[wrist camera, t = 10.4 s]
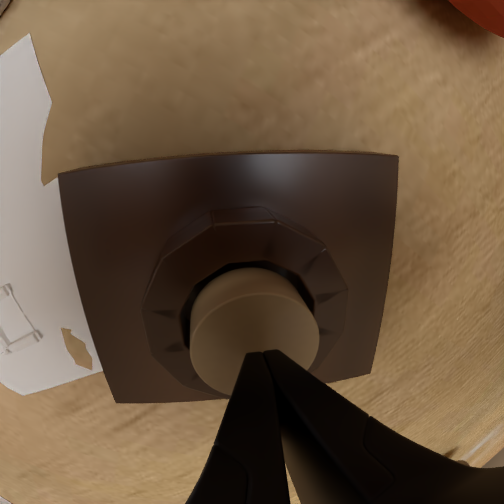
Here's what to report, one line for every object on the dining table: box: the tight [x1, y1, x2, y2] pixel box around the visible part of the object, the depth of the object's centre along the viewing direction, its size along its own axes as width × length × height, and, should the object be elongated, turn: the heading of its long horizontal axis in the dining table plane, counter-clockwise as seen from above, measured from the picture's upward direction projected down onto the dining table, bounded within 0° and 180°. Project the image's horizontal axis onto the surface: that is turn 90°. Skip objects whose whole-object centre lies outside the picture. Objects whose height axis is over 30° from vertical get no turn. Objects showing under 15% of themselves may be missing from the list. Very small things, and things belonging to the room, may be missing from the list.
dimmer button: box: [190, 267, 319, 395], centre depth 9 cm, size 4×4×2 cm
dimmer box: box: [58, 150, 399, 403], centre depth 12 cm, size 12×10×4 cm
